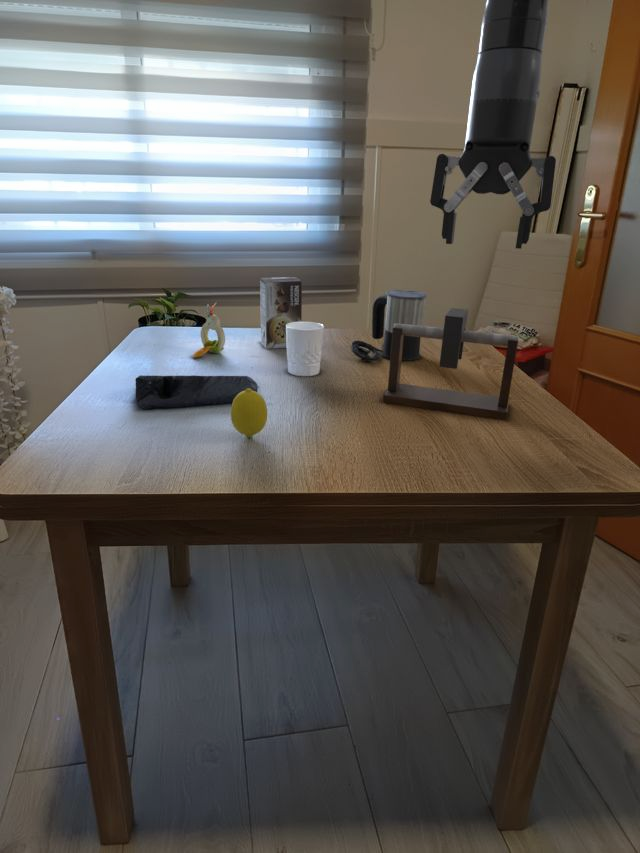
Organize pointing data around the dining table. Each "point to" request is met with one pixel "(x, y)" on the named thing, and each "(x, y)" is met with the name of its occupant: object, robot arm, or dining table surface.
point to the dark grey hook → (453, 338)
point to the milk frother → (399, 310)
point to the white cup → (304, 347)
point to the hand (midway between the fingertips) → (483, 245)
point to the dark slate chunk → (189, 390)
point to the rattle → (208, 345)
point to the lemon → (249, 412)
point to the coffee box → (279, 308)
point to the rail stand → (449, 398)
